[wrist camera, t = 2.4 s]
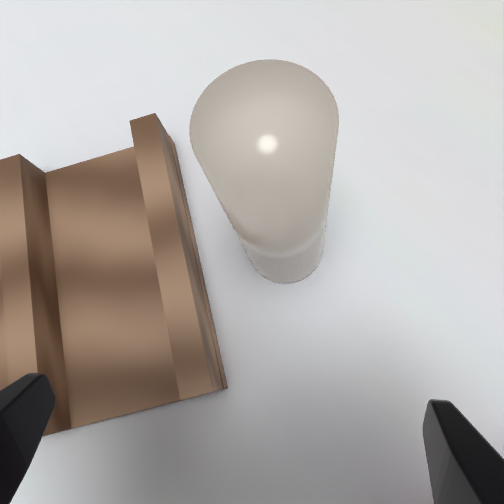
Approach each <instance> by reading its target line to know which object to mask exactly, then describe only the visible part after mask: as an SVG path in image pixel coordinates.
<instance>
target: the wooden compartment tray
mask: <svg viewBox="0 0 504 504" xmlns="http://www.w3.org/2000/svg"><path fill="white" fill-rule="evenodd" d="M130 126H131V131H132V137H133V142H134V147H131V148H127V149H124V150H121V151H117V152H114V153H111V154H107V155H104V156H101V157H97V158H94V159H90V160H87V161H84V162H80V163H77V164H74V165H70V166H67V167H64V168H60V169H57V170H54V171H50V172H47V173H44V172H43V171H42V170H40V169H39V168H38V167H36V166H35V165H34V164H32V163H31V162H30V161H28V160H27V159H25V158H24V157H23V156H21V155H20V154H18V155H15V156H11V157H8V158H5V159H1V160H0V390H2V389H3V388H5V387H7V386H8V385H10V384H11V383H13V382H15V381H16V380H18V379H19V378H21V377H23V376H24V375H26V374H28V373H42V374H45V375H47V377H48V379H49V381H50V384H51V386H52V388H53V391H54V393H55V396H56V403H55V407H54V410H53V412H52V414H51V417H50V419H49V421H48V424H47V426H46V429H45V431H44V433H43V436H45V435H49V434H53V433H56V432H60V431H64V430H68V429H72V428H76V427H80V426H83V425H87V424H91V423H95V422H99V421H103V420H107V419H110V418H114V417H118V416H122V415H126V414H130V413H134V412H137V411H141V410H145V409H149V408H153V407H157V406H161V405H164V404H168V403H172V402H176V401H180V400H184V399H187V398H191V397H195V396H199V395H203V394H207V393H211V392H214V391H218V390H222V389H226V388H227V383H226V378H225V374H224V369H223V365H222V360H221V355H220V351H219V346H218V342H217V337H216V332H215V328H214V323H213V319H212V314H211V309H210V305H209V300H208V295H207V291H206V286H205V282H204V277H203V272H202V268H201V263H200V259H199V254H198V249H197V245H196V240H195V236H194V231H193V226H192V222H191V217H190V213H189V208H188V203H187V199H186V194H185V189H184V185H183V180H182V176H181V171H180V166H179V162H178V157H177V153H176V148H175V144H174V142H173V140H172V139H171V137H170V136H169V135H168V133H167V132H166V130H165V128H164V127H163V125H162V123H161V122H160V120H159V118H158V117H157V115H156V113H154V114H150V115H147V116H144V117H140V118H137V119H134V120H131V121H130Z"/></svg>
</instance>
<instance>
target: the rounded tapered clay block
mask: <svg viewBox="0 0 504 504" xmlns="http://www.w3.org/2000/svg"><path fill="white" fill-rule="evenodd" d="M338 126H339V115H338V108H337V104H336V101H335V99H334V96H333V94H332V93H331V91H330V89H329V88H328V86H327V85H326V84H325V83H324V81H323V80H321V79H320V78H319V77H318V76H317V75H316V74H314V73H313V72H312V71H310V70H308V69H306V68H304V67H303V66H300V65H297V64H295V63H291V62H287V61H282V60H258V61H253V62H248V63H245V64H242V65H239V66H236V67H234V68H232V69H230V70H228V71H227V72H225V73H223V74H222V75H220V76H219V77H218V78H216V79H215V80H214V81H213V82H212V83H211V84H210V85H209V86H208V87H207V88H206V89H205V90H204V91H203V93H202V94H201V96H200V97H199V99H198V101H197V103H196V105H195V107H194V109H193V112H192V115H191V121H190V141H191V145H192V149H193V151H194V154H195V156H196V158H197V160H198V162H199V164H200V166H201V168H202V169H203V171H204V173H205V175H206V177H207V179H208V181H209V183H210V184H211V186H212V188H213V190H214V192H215V194H216V196H217V198H218V200H219V201H220V203H221V205H222V207H223V209H224V211H225V213H226V215H227V217H228V218H229V220H230V222H231V224H232V226H233V228H234V230H235V232H236V233H237V235H238V237H239V239H240V241H241V243H242V245H243V247H244V249H245V250H246V252H247V254H248V256H249V258H250V260H251V262H252V264H253V265H254V267H255V269H256V270H257V271H258V272H259V273H260V274H261V275H262V276H264V277H265V278H267V279H269V280H271V281H273V282H277V283H294V282H297V281H300V280H302V279H304V278H306V277H307V276H309V275H310V274H311V273H312V272H313V271H314V270H315V269H316V267H317V266H318V264H319V262H320V260H321V257H322V252H323V244H324V236H325V228H326V221H327V213H328V205H329V197H330V190H331V182H332V174H333V166H334V158H335V151H336V143H337V135H338Z"/></svg>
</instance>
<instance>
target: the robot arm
mask: <svg viewBox="0 0 504 504" xmlns="http://www.w3.org/2000/svg"><path fill="white" fill-rule="evenodd" d="M55 403H56V396H55V393H54V391H53V388H52V386H51V384H50V381H49V379H48V377H47V375H45V374H42V373H28V374H26V375H24V376H23V377H21V378H19V379H18V380H16V381H15V382H13V383H11V384H10V385H8V386H7V387H5V388H3V389H2V390H0V504H10V502H11V500H12V498H13V496H14V495H15V493H16V491H17V489H18V487H19V485H20V483H21V481H22V480H23V478H24V476H25V474H26V472H27V470H28V468H29V466H30V464H31V461H32V459H33V457H34V455H35V452H36V450H37V448H38V445H39V443H40V440H41V438H42V436H43V433H44V431H45V429H46V426H47V424H48V421H49V419H50V417H51V414H52V412H53V410H54V407H55ZM423 438H424V444H425V450H426V456H427V462H428V468H429V475H430V481H431V487H432V493H433V499H434V504H504V459H503V458H502V457H501V456H500V454H499V453H498V452H497V451H496V450H495V449H494V448H493V447H492V446H491V445H490V444H489V443H488V441H487V440H486V439H485V438H484V437H483V436H482V435H481V434H480V433H479V432H478V431H477V430H476V428H475V427H474V426H473V425H472V424H471V423H470V422H469V421H468V420H467V419H466V418H465V417H464V415H463V414H462V413H461V412H460V411H459V410H458V409H457V408H456V407H455V406H454V405H453V404H452V403H451V402H450V401H447V400H435V399H432V400H429V402H428V404H427V409H426V413H425V418H424V422H423Z"/></svg>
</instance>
